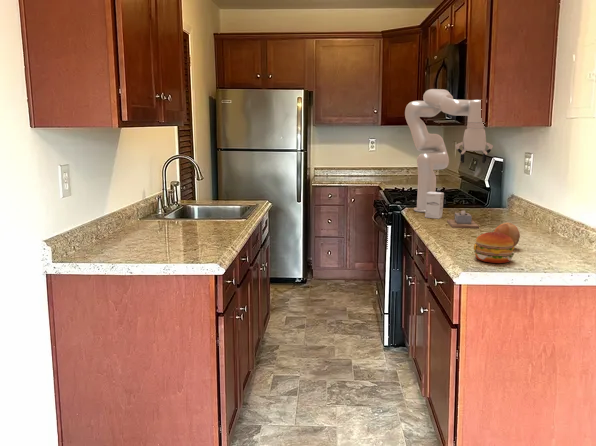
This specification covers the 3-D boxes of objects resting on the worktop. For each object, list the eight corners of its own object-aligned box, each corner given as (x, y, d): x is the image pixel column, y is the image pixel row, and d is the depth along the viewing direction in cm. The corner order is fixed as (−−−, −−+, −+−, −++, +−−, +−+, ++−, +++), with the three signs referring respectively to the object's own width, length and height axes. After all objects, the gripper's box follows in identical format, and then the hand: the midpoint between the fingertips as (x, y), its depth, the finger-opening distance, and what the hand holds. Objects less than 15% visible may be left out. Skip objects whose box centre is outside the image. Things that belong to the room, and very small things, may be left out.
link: (454, 221, 263) (454, 212, 262) (468, 221, 262) (468, 213, 261) (456, 224, 255) (457, 215, 254) (471, 224, 254) (471, 215, 253)
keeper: (446, 221, 267) (447, 208, 266) (472, 222, 265) (473, 208, 264) (451, 227, 251) (452, 213, 250) (479, 228, 250) (480, 214, 249)
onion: (496, 244, 217) (498, 219, 216) (522, 248, 211) (524, 222, 209) (487, 248, 210) (489, 222, 208) (514, 252, 204) (516, 226, 202)
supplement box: (424, 217, 277) (425, 192, 274) (428, 215, 283) (429, 191, 281) (439, 219, 273) (440, 193, 271) (442, 216, 280) (444, 192, 277)
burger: (498, 267, 183) (500, 238, 181) (464, 259, 194) (466, 231, 192) (521, 262, 191) (523, 233, 189) (487, 254, 201) (489, 227, 200)
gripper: (492, 126, 263) (490, 162, 266) (455, 126, 265) (453, 162, 268) (496, 126, 256) (493, 163, 259) (457, 126, 258) (455, 163, 261)
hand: (473, 162), depth 263 cm, fingers open, 9 cm apart
